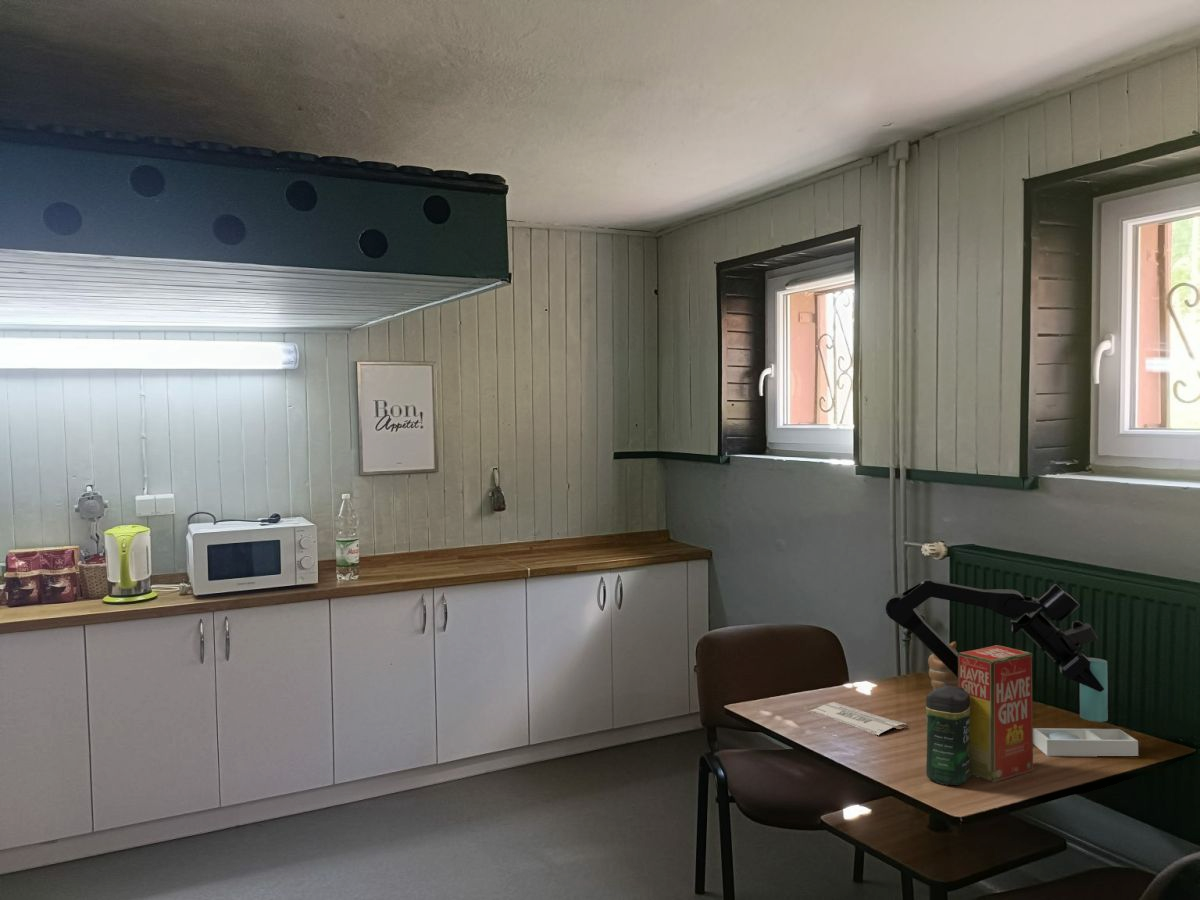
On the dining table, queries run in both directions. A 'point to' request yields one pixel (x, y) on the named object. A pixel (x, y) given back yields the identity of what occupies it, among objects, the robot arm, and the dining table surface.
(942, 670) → the cat ice cream
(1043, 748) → the rack
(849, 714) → the newspaper
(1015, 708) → the food packaging
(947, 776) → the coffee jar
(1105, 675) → the teal rounded block
